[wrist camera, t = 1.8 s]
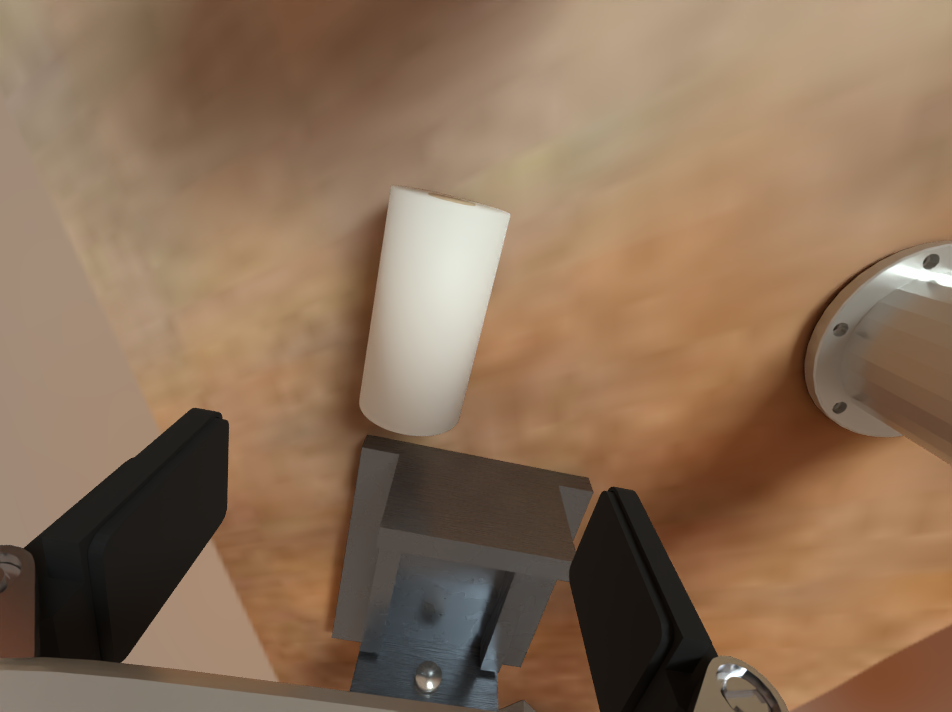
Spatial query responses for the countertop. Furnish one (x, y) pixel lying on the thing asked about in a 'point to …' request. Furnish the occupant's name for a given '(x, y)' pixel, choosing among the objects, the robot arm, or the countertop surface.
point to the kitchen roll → (429, 308)
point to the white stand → (518, 707)
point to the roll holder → (450, 568)
